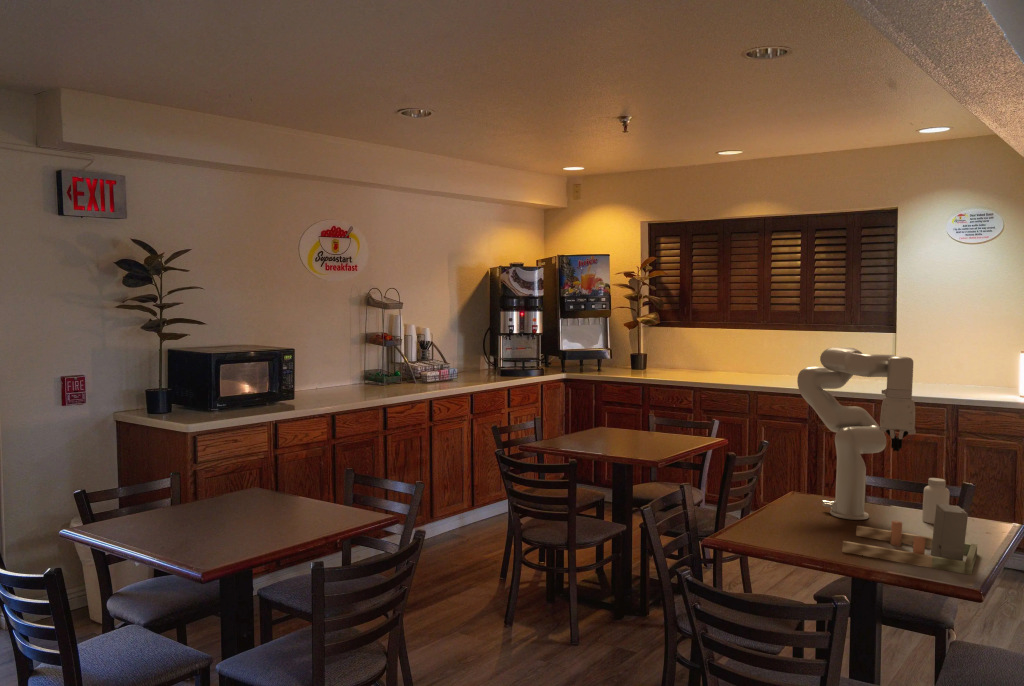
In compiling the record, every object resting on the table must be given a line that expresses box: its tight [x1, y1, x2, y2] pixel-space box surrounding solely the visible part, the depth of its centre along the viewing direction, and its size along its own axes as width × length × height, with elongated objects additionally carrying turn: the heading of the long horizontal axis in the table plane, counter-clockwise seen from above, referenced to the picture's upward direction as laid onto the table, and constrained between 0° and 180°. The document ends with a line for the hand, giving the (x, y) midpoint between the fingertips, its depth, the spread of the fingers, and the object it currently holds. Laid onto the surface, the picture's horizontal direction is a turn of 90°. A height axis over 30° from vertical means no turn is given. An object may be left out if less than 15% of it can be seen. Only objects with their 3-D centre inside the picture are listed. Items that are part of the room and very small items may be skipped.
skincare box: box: [930, 504, 969, 561], centre depth 234 cm, size 8×7×16 cm
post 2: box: [912, 535, 926, 555], centre depth 232 cm, size 3×3×7 cm
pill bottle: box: [921, 477, 951, 525], centre depth 277 cm, size 8×8×15 cm
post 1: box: [890, 520, 903, 547], centre depth 249 cm, size 3×3×7 cm
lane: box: [841, 525, 978, 576], centre depth 241 cm, size 34×23×3 cm
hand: (896, 450), depth 262 cm, fingers closed
